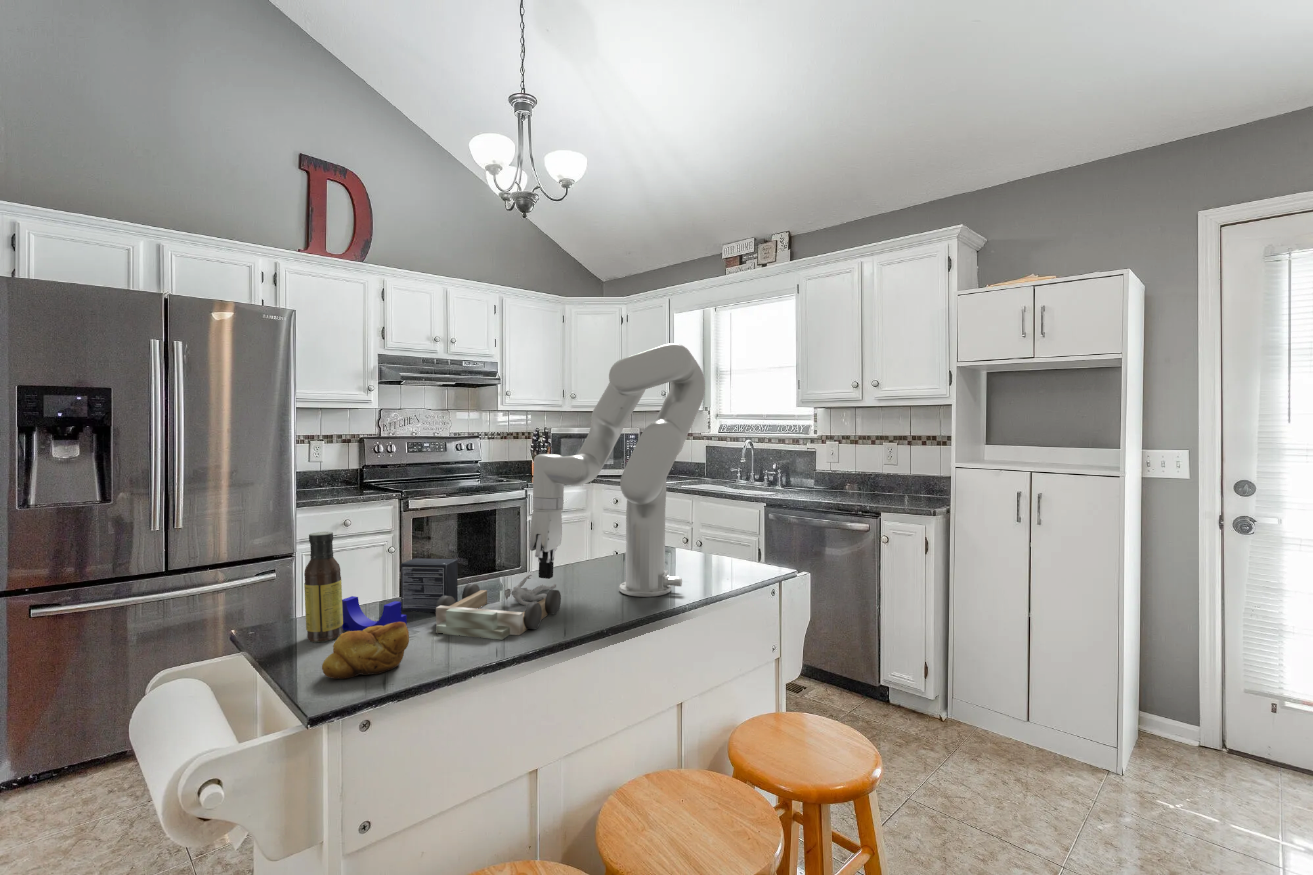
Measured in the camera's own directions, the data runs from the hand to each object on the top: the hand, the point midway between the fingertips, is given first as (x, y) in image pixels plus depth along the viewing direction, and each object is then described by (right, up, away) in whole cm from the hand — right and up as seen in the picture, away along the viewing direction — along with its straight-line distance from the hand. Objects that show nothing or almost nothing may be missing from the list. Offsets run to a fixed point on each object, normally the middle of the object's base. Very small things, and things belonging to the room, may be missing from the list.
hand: (545, 577), depth 157 cm
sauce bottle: (-35, -3, -37) cm, 52 cm away
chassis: (-6, -3, -26) cm, 27 cm away
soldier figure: (-1, -3, -12) cm, 13 cm away
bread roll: (-21, -4, -53) cm, 57 cm away
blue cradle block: (-28, -3, -33) cm, 43 cm away
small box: (-22, -3, -18) cm, 29 cm away
